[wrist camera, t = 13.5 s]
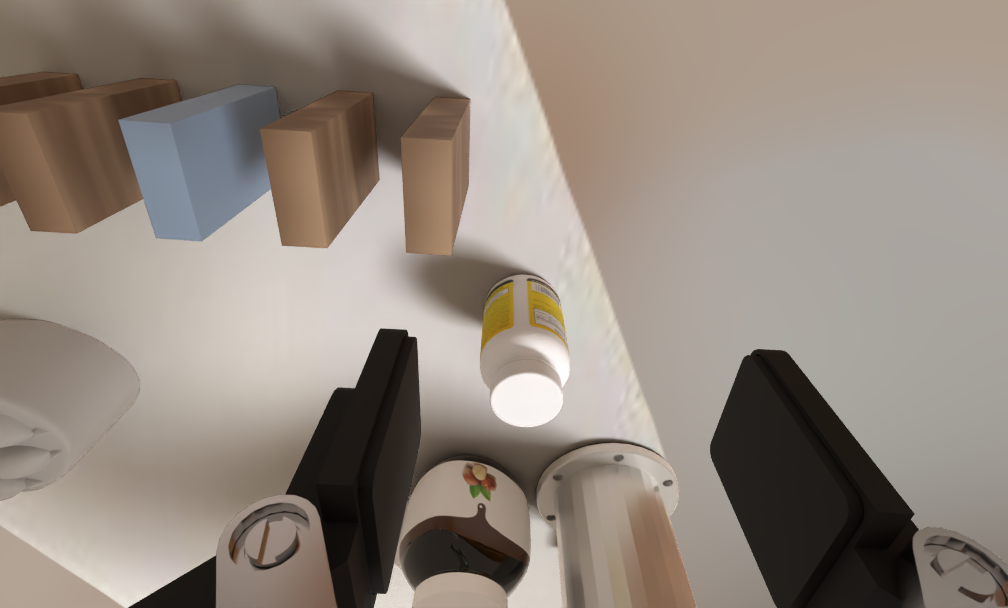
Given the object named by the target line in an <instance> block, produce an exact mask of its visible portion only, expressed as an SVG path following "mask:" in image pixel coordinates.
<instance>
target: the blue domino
mask: <svg viewBox="0 0 1008 608" xmlns="http://www.w3.org/2000/svg"><path fill="white" fill-rule="evenodd" d="M278 119H280V112H279V106H278V100H277V93H276V87H267V86H254V85H241V84H239V85H236V86H233V87H229V88H226V89H222V90H219V91H215V92H212V93H209V94H205V95H202V96H198V97H195V98H191V99H188V100H185V101H181V102H178V103H174V104H171V105H167V106H164V107H161V108H157V109H154V110H150V111H147V112H143V113H140V114H137V115H133V116H130V117H126V118H123V119H119V120H118V121H119V124H120V127H121V130H122V133H123V137H124V140H125V143H126V146H127V149H128V152H129V155H130V158H131V162H132V165H133V168H134V171H135V174H136V177H137V180H138V183H139V187H140V190H141V193H142V196H143V199H144V202H145V205H146V208H147V212H148V215H149V218H150V221H151V224H152V227H153V230H154V233H155V237H156V238H161V239H175V240H190V241H203V240H204V239H206V238H207V237H208V236H209V235H211V234H212V233H213V232H215V231H216V230H217V229H219V228H220V227H221V226H223V225H224V224H225V223H227V222H228V221H229V220H231V219H232V218H233V217H234V216H236V215H237V214H238V213H240V212H241V211H242V210H244V209H245V208H246V207H248V206H249V205H250V204H252V203H253V202H254V201H256V200H257V199H258V198H260V197H261V196H262V195H263V194H265V193H266V192H267V191H269V190H270V189H271V185H270V180H269V175H268V170H267V164H266V159H265V154H264V149H263V144H262V138H261V133H260V128H262V127H264V126H266V125H268V124H270V123H272V122H274V121H276V120H278Z"/></svg>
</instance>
